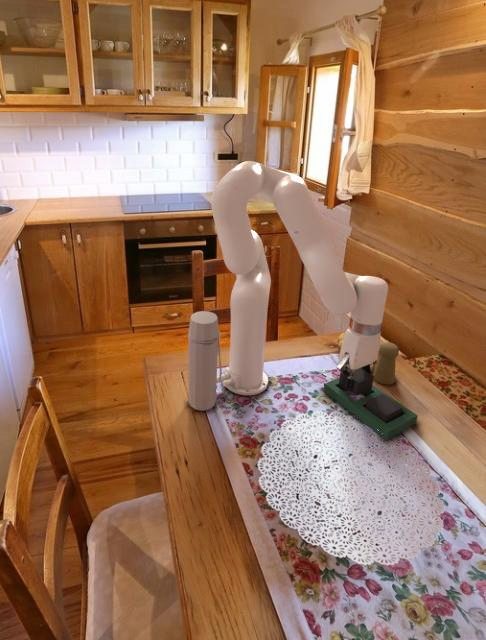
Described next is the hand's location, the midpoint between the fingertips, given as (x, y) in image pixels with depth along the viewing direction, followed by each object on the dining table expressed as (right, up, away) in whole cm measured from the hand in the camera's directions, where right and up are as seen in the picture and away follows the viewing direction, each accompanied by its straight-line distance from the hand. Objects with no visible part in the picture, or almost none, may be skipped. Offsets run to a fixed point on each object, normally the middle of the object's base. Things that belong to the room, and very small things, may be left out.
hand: (355, 384), depth 108 cm
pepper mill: (+11, -1, +9) cm, 15 cm away
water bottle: (-40, -4, -2) cm, 40 cm away
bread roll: (+5, +3, +20) cm, 21 cm away
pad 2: (+5, -6, -6) cm, 10 cm away
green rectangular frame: (+2, -5, -2) cm, 6 cm away
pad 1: (0, -1, 0) cm, 1 cm away
